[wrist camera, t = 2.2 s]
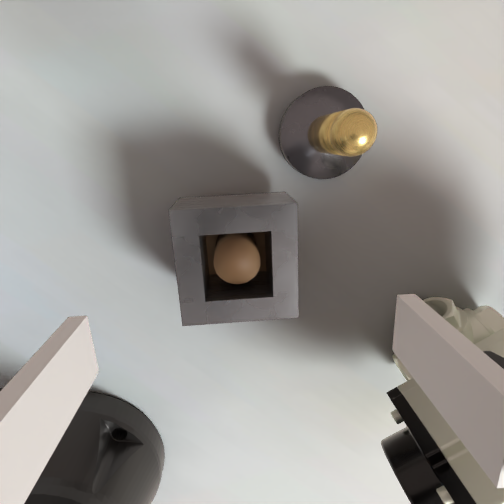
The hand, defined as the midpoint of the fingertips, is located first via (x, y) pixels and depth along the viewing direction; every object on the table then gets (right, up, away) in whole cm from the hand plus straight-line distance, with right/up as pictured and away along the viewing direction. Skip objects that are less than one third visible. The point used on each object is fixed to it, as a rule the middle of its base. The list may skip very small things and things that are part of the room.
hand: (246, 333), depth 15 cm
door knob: (+5, +12, +12) cm, 18 cm away
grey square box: (-1, +4, +13) cm, 13 cm away
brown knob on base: (-1, +4, +14) cm, 15 cm away
